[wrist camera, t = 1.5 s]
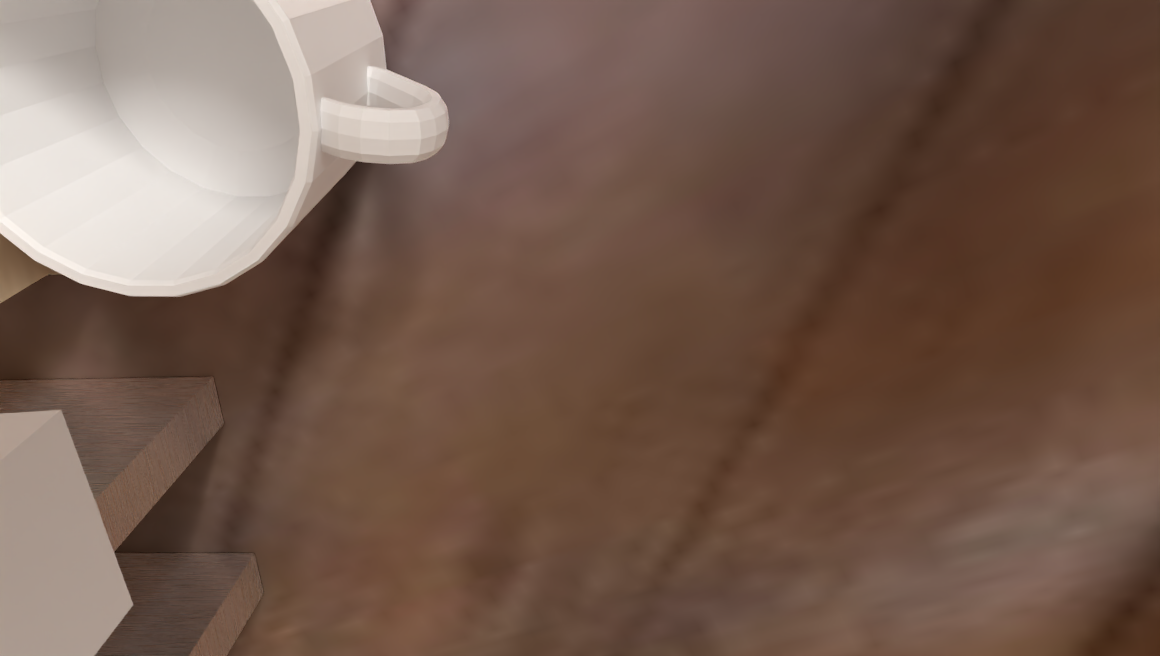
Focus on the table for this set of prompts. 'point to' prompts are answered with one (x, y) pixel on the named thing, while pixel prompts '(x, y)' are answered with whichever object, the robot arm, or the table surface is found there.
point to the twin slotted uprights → (150, 504)
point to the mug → (189, 131)
